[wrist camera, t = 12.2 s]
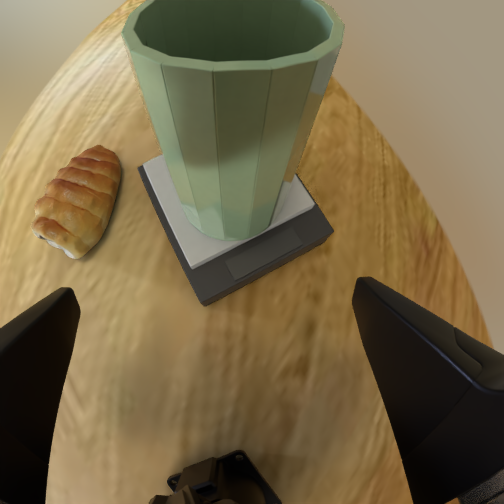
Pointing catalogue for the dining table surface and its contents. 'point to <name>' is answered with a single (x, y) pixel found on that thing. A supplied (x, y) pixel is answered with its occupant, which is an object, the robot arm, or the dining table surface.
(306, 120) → the cup
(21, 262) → the dining table surface
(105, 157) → the pastry
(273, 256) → the scale
